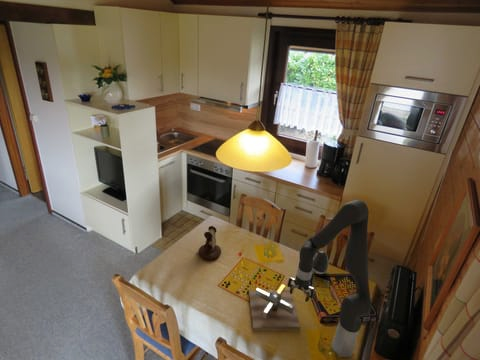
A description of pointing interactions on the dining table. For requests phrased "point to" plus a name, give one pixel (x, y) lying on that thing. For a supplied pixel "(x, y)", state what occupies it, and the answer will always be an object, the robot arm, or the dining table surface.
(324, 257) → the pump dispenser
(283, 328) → the level stand
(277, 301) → the capstan
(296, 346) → the dining table surface
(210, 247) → the dark brown tall figurine
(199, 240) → the dining table surface
